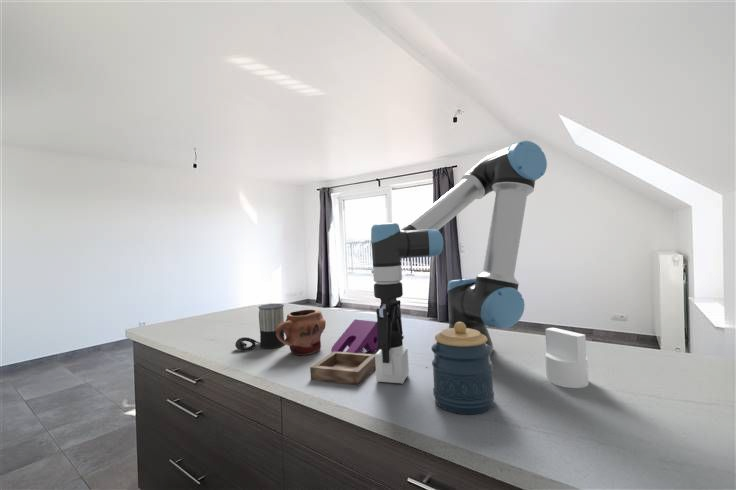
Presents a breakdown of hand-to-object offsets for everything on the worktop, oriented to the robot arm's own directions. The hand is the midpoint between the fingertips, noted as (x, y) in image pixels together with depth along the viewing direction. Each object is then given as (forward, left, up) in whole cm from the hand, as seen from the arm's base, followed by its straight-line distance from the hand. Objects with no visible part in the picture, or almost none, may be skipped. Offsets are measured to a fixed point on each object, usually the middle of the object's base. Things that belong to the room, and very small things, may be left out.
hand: (392, 368), depth 90 cm
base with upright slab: (-42, -10, -3) cm, 43 cm away
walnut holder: (+14, -1, -3) cm, 14 cm away
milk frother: (+55, -16, -3) cm, 58 cm away
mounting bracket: (+18, -17, -3) cm, 26 cm away
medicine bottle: (0, 0, -2) cm, 2 cm away
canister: (-19, +8, -3) cm, 21 cm away
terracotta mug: (+36, -14, -3) cm, 39 cm away
